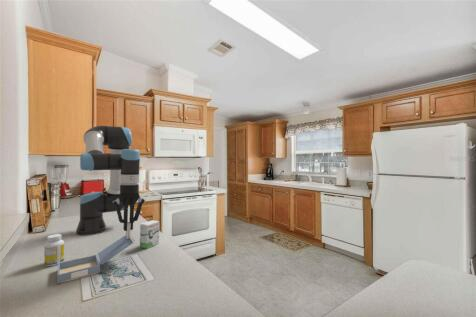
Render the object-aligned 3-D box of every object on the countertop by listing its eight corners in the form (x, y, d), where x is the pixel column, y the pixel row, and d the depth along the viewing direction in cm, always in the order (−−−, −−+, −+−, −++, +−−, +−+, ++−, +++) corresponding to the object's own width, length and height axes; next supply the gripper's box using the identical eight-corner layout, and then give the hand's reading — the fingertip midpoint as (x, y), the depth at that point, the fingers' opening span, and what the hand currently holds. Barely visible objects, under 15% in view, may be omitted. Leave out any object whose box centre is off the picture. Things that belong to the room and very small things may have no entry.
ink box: (146, 249, 110) (146, 225, 110) (139, 247, 112) (139, 223, 112) (159, 243, 118) (159, 220, 118) (152, 241, 120) (152, 219, 120)
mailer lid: (127, 231, 104) (129, 233, 104) (96, 251, 97) (98, 254, 97) (133, 238, 94) (135, 241, 95) (99, 262, 87) (101, 265, 87)
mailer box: (58, 270, 89) (58, 262, 89) (96, 261, 97) (96, 254, 97) (57, 284, 79) (57, 275, 79) (100, 272, 87) (100, 265, 87)
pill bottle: (63, 258, 100) (63, 232, 100) (65, 263, 95) (65, 235, 95) (43, 263, 95) (43, 235, 95) (45, 268, 91) (45, 239, 91)
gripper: (114, 185, 92) (112, 243, 92) (147, 184, 100) (145, 237, 99) (111, 183, 98) (110, 237, 98) (142, 182, 106) (141, 232, 105)
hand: (127, 237), depth 99 cm, fingers closed
